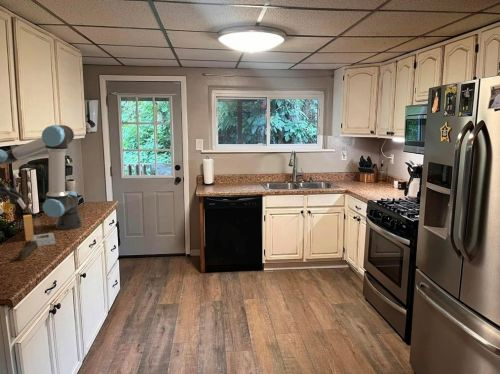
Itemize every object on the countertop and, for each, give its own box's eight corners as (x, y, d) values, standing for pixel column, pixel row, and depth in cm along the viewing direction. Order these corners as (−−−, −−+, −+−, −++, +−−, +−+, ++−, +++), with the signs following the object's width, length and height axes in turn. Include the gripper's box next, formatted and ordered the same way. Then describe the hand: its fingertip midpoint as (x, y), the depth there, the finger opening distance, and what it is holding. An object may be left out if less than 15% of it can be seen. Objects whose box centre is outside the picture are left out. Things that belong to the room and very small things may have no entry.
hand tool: (29, 249, 200) (28, 240, 200) (38, 248, 201) (37, 240, 200) (14, 262, 182) (13, 253, 181) (23, 261, 183) (22, 252, 182)
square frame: (53, 238, 218) (52, 232, 217) (55, 243, 209) (54, 237, 208) (31, 241, 212) (30, 235, 211) (32, 247, 203) (32, 240, 202)
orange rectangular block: (33, 237, 219) (31, 214, 216) (34, 239, 215) (31, 215, 213) (25, 238, 217) (23, 215, 214) (26, 240, 213) (23, 216, 211)
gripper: (11, 183, 233) (30, 209, 230) (-32, 190, 210) (-11, 219, 207) (16, 175, 230) (36, 201, 227) (-27, 181, 207) (-6, 210, 204)
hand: (13, 210), depth 217 cm, fingers open, 13 cm apart
